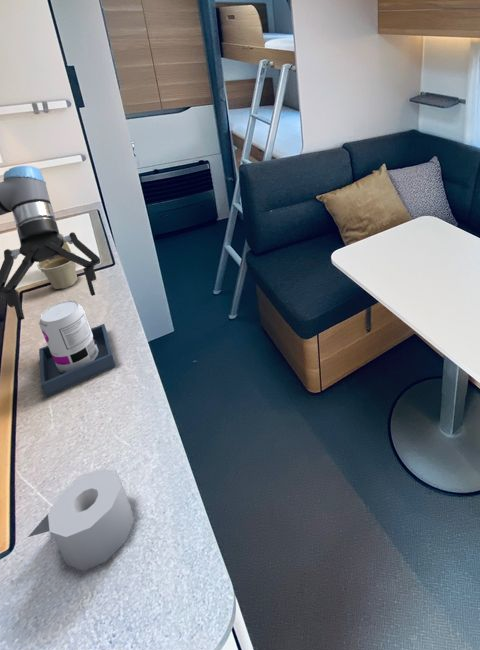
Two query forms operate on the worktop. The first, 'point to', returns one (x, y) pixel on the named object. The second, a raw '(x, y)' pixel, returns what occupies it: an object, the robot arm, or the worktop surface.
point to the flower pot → (59, 271)
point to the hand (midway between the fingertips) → (58, 305)
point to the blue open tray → (59, 381)
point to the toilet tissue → (89, 519)
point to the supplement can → (68, 335)
